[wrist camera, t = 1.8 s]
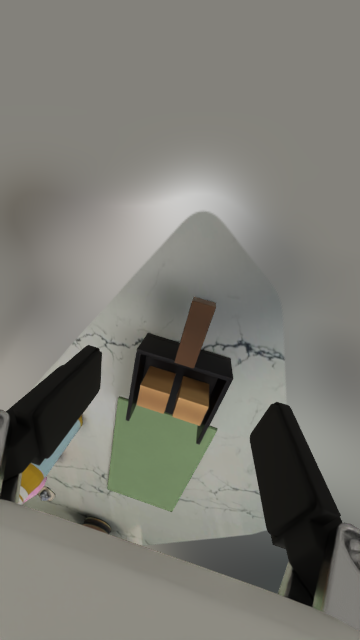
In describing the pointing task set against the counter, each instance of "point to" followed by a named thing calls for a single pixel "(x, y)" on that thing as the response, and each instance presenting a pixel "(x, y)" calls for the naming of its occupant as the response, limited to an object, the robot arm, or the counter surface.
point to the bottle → (44, 466)
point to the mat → (154, 455)
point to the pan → (185, 363)
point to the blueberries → (46, 494)
